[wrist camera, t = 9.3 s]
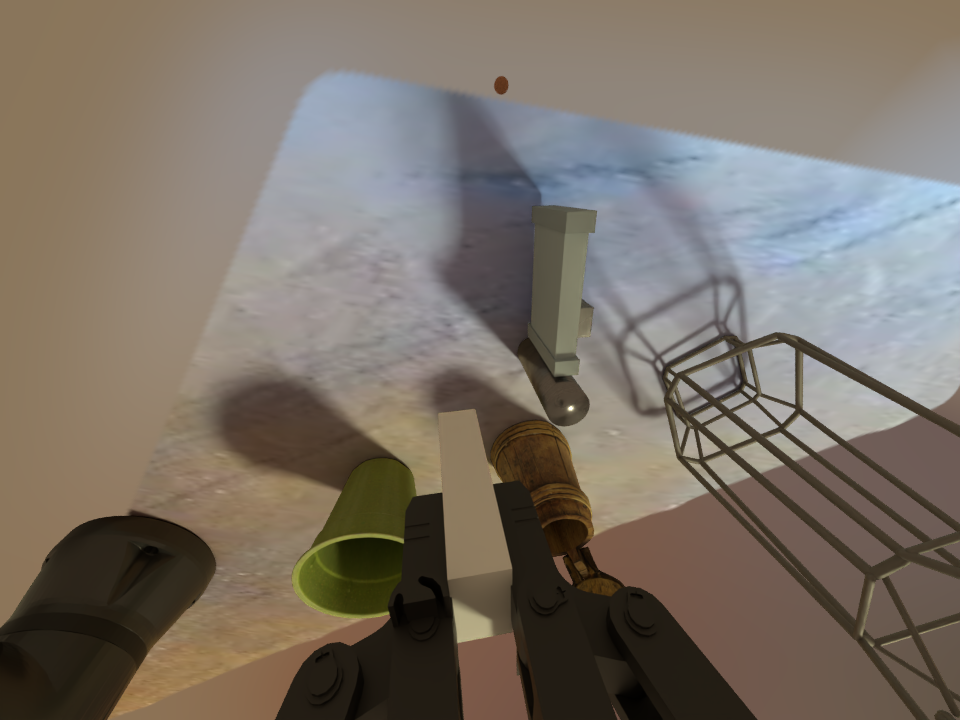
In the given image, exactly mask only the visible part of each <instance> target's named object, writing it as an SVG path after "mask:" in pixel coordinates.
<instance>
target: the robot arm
mask: <svg viewBox="0 0 960 720" xmlns="http://www.w3.org/2000/svg"><path fill="white" fill-rule="evenodd" d="M438 423H439V441H440V458H441V475H442V493H436V494H429V495H422V496H415V497H413V498H412V499H411V501H410V503H409V505H408V507H407V509H406V512H405V530H404V543H403V559H402V575H401V581H400V582H399V583H398V584H397V586H396V587H395V589H394V590H393V592H392V593H391V595H390V599H389V603H388V611H389V614H390V617H391V618H390V619H389V620H388V621H387V623H386V624H385V625H384V626H383V627H382V628H380V629H379V630H377V631H376V632H375V633H373V634H372V635H370V636H368V637H366V638H364V639H363V640H361V641H359V642H357V643H356V644H354V645H352V646H349V645H346V644H344V643H341V642H337V643H330V644H327V645H325V646H323V647H321V648H319V649H318V650H316V651H314V652H313V653H312V655H310V657H308V658H307V660H306V661H304V663H303V664H302V666H301V668H300V669H299V671H298V672H297V674H296V676H295V677H294V679H293V682H292V684H291V686H290V688H289V690H288V693H287V695H286V697H285V699H284V701H283V703H282V706H281V708H280V710H279V712H278V714H277V717H276V719H275V720H464V716H463V703H462V690H461V677H460V668H459V660H458V645H457V643H460V642H464V641H470V640H475V639H480V638H485V637H490V636H495V635H501V634H506V633H511V632H512V630H513V632H514V637H515V642H516V646H517V675H520V678H521V683H522V688H523V693H524V698H525V704H526V709H527V714H528V719H529V720H617V718H616V715H615V712H614V710H613V707H614V708H615V710H616V712H617V714H618V716H619V717H620V719H621V720H757V719H756V718H755V716H754V715H753V714H752V713H751V711H750V710H749V709H748V708H747V706H746V705H745V704H744V703H743V701H742V700H741V699H740V698H739V697H738V695H737V694H736V693H735V692H734V691H733V689H732V688H731V687H730V686H729V684H728V683H727V682H726V681H725V680H724V678H723V677H722V676H721V675H720V673H718V671H717V670H716V669H715V668H714V666H713V665H712V664H711V663H710V661H709V660H708V659H707V658H706V656H705V655H704V654H703V653H702V652H701V650H700V649H699V648H698V647H697V645H696V644H695V643H694V642H693V641H692V639H691V638H690V637H689V636H688V635H687V633H686V632H685V631H684V630H683V628H682V627H681V626H680V625H679V624H678V622H677V621H676V620H675V619H674V617H673V616H672V615H671V614H670V613H669V611H668V610H667V609H666V608H665V607H664V605H663V604H662V603H661V602H659V600H657V599H656V598H655V597H654V596H653V595H652V594H650V593H648V592H647V591H645V590H643V589H641V588H636V587H630V586H628V587H624V588H619V589H618V590H617V591H616V592H615V593H614V594H613V595H612V596H607V595H601V594H596V593H590V592H586V591H583V590H579V589H578V588H576V587H574V586H572V585H571V584H569V583H568V582H567V581H566V580H565V579H564V578H563V577H562V576H561V574H560V573H559V571H558V570H557V568H556V565H555V563H554V560H553V557H552V554H551V551H550V548H549V546H548V543H547V540H546V537H545V534H544V531H543V528H542V526H541V523H540V520H539V517H538V514H537V511H536V509H535V506H534V503H533V500H532V497H531V494H530V492H529V490H528V489H527V488H526V487H525V486H524V485H523V484H522V483H521V482H520V481H519V480H518V481H512V482H505V483H498V484H493V483H492V479H491V475H490V471H489V466H488V462H487V458H486V453H485V449H484V445H483V440H482V436H481V432H480V427H479V423H478V419H477V415H476V410H475V409H469V410H460V411H452V412H444V413H438ZM215 570H216V562H215V558H214V555H213V553H212V552H211V550H210V549H209V548H208V546H207V545H206V544H205V543H204V542H203V541H201V540H200V539H199V538H198V537H196V536H195V535H193V534H192V533H190V532H188V531H186V530H184V529H182V528H180V527H178V526H175V525H172V524H170V523H167V522H163V521H159V520H155V519H150V518H145V517H136V516H112V517H104V518H99V519H95V520H91V521H88V522H86V523H83V524H81V525H79V526H78V527H76V528H75V529H73V530H72V531H71V532H70V533H69V534H68V535H67V536H66V537H65V538H64V539H63V540H61V541H60V542H59V543H58V544H57V545H56V546H55V547H54V548H53V549H52V550H51V552H50V553H49V554H48V555H47V557H46V559H45V561H44V563H43V565H42V569H41V572H40V573H39V574H38V576H37V577H36V579H35V580H34V582H33V583H32V585H31V586H30V588H29V590H28V591H27V593H26V594H25V596H24V597H23V599H22V600H21V602H20V603H19V605H18V607H17V608H16V610H15V611H14V613H13V614H12V616H11V617H10V618H9V620H8V621H7V622H6V623H5V624H4V625H3V626H2V627H1V628H0V720H107V719H108V717H109V716H110V714H111V712H112V711H113V709H114V707H115V706H116V704H117V703H118V701H119V699H120V698H121V696H122V694H123V693H124V691H125V689H126V688H127V686H128V685H129V683H130V681H131V680H132V678H133V676H134V675H135V673H136V671H137V670H138V668H139V667H140V665H141V663H142V662H143V660H144V659H145V657H146V655H147V654H148V652H149V651H150V649H151V648H152V647H153V646H154V645H155V644H156V642H157V641H158V640H159V639H160V638H161V637H162V636H163V635H164V634H165V633H166V632H167V631H168V630H169V628H170V627H171V626H172V625H173V624H174V623H175V622H176V621H177V620H178V618H179V617H180V616H181V615H182V614H183V613H184V612H185V611H186V610H187V609H188V608H190V607H191V606H192V605H193V604H194V603H195V602H196V601H197V600H198V599H199V598H200V597H201V596H202V594H203V593H204V591H205V590H206V588H207V586H208V584H209V583H210V581H211V579H212V577H213V576H214V573H215ZM611 703H612V704H611ZM612 705H613V707H612Z"/></svg>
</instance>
